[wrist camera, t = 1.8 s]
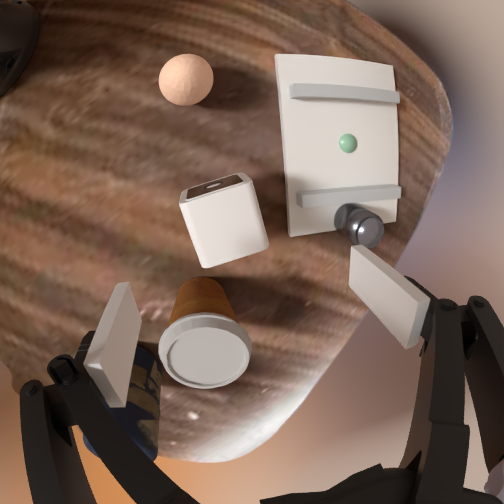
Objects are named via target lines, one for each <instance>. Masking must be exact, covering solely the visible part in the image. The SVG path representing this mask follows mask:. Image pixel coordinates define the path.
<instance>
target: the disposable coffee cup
mask: <svg viewBox="0 0 504 504" xmlns="http://www.w3.org/2000/svg"><path fill="white" fill-rule="evenodd" d="M251 352H252V345H251V340H250V338H249V336H248V334H247V332H246V331H245V330H244V328H243V327H241V326H240V325H239V322H238V320H237V318H236V316H235V313H234V312H233V310H232V307H231V305H230V303H229V301H228V299H227V297H226V294H225V292H224V290H223V288H222V286H221V285H220V284H219V283H218V282H217V281H215V280H213V279H211V278H207V277H196V278H192V279H190V280H188V281H186V282H185V283H184V284H183V285H182V286H181V288H180V289H179V292H178V295H177V298H176V302H175V305H174V308H173V311H172V314H171V317H170V321H169V324H168V327H167V329H166V330H165V332H164V333H163V335H162V337H161V338H160V342H159V356H160V359H161V361H162V363H163V365H164V367H165V369H166V371H167V372H168V373H169V375H170V376H171V377H172V378H173V379H175V380H176V381H178V382H179V383H182V384H184V385H186V386H190V387H194V388H202V389H207V388H215V387H220V386H224V385H227V384H229V383H231V382H233V381H234V380H236V379H237V378H238V377H239V376H241V375H242V374H243V372H244V371H245V370H246V368H247V366H248V362H249V359H250V356H251Z"/></svg>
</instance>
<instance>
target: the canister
mask: <svg viewBox="0 0 504 504" xmlns="http://www.w3.org/2000/svg"><path fill="white" fill-rule="evenodd" d="M161 376H162V371H161V366H160V363H159V361H158V360H157V359H156V357H155V356H154V355H153V354H151V353H150V352H149V351H147V350H146V349H144V348H141V347H139V346H136V350H135V355H134V360H133V365H132V371H131V376H130V381H129V387H128V393H127V399H126V405H125V407H109V405H108V404H107V402H106V401H104V406H105V407H106V408H107V410H108V411H109V412H110V413H111V415H112V416H113V417H114V419H115V420H116V421H117V422H118V423H119V425H120V426H121V427H122V428H123V430H124V431H125V432H126V433H127V434H128V435H129V437H130V438H131V439H132V440H133V441H134V442H135V443H136V444H137V446H138V447H139V448H140V449H141V450H142V451H143V452H144V453H145V454H146V455H147V456H148V457H149V458H150V459H151V460H152V461H154V460H155V459H156V457H157V453H158V434H159V418H160V408H159V406H160V391H161ZM83 441H84V444H85V446H86V447H87V448H88V449H89V451H91V452H92V453H93V454H94V455H96V456H97V457H99V456H98V455H97V453H96V452H95V450H94V449H93V447H92V446H91V444H90V443H89V441H88V440H87V438H86V437H85V435H84V434H83ZM99 458H100V457H99Z"/></svg>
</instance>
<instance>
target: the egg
mask: <svg viewBox="0 0 504 504" xmlns="http://www.w3.org/2000/svg"><path fill="white" fill-rule="evenodd" d="M212 85H213V72H212V69H211V67H210V65H209V64H208V63H207V62H206V61H205V60H204V59H203V58H201V57H199V56H197V55H194V54H181V55H178V56H175V57H174V58H172V59H170V60H169V61H168V62H167V63H166V64H165V65H164V67H163V68H162V70H161V72H160V76H159V87H160V90H161V92H162V94H163V96H164V97H165V98H166V99H167V100H168V101H170V102H172V103H174V104H177V105H181V106H187V105H193V104H196V103H198V102H200V101H201V100H203V99H204V98H205V97H206V96H207V95H208V93H209V92H210V90H211V88H212Z"/></svg>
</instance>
